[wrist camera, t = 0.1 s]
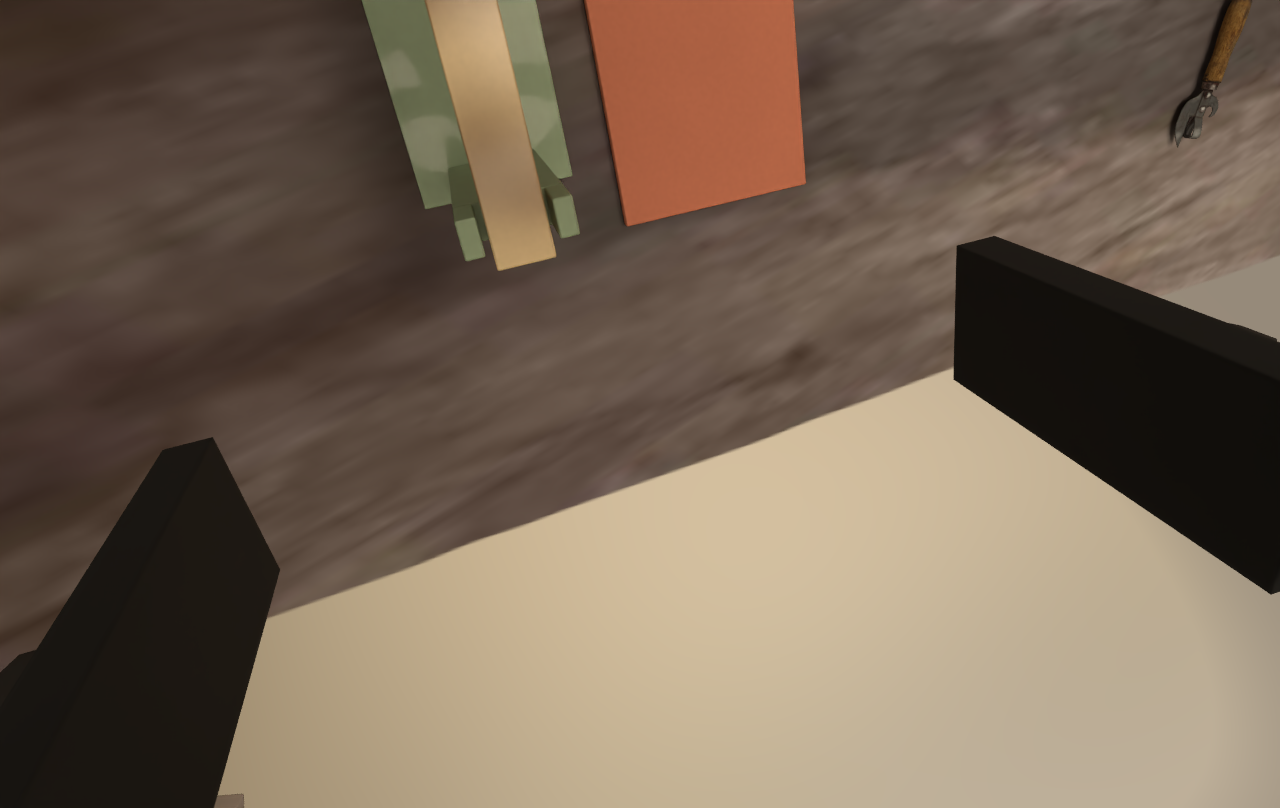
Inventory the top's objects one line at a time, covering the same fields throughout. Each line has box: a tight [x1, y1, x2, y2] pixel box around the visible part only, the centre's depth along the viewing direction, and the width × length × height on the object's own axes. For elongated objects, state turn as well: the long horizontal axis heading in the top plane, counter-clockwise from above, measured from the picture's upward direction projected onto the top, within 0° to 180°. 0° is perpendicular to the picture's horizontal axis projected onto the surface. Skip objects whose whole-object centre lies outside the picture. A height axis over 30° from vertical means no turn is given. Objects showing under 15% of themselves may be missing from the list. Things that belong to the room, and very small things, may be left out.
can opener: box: [1175, 0, 1252, 147], centre depth 49 cm, size 9×2×1 cm, turn 169°
